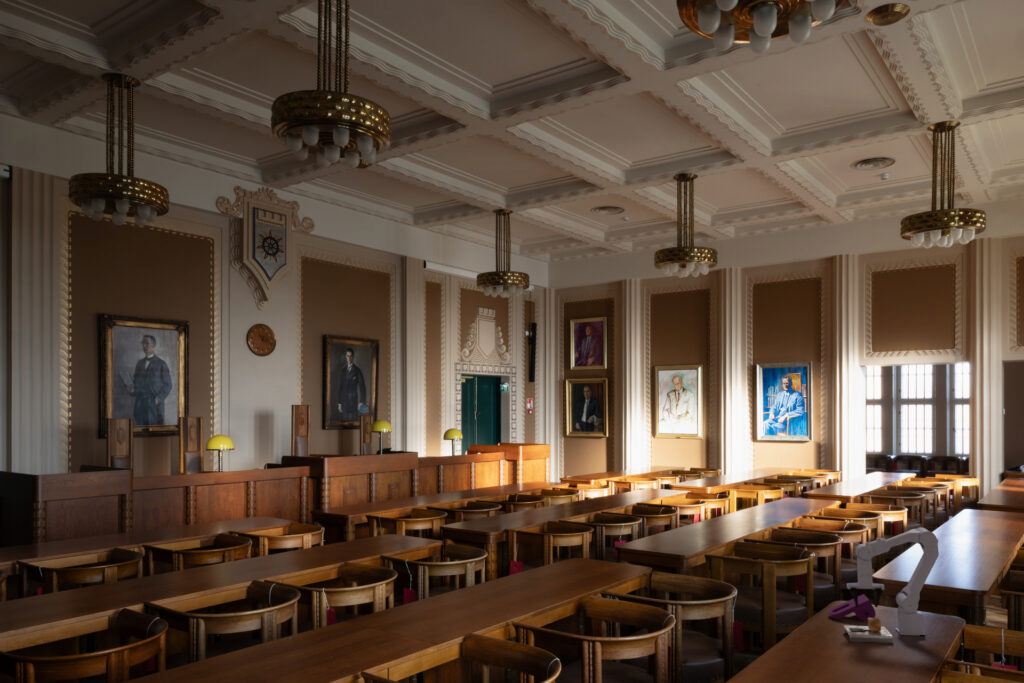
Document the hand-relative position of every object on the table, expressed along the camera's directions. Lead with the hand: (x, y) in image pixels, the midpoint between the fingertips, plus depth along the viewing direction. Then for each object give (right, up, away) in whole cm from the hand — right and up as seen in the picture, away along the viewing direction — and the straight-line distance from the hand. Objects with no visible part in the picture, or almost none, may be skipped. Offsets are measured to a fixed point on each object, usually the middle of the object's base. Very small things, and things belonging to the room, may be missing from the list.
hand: (866, 606), depth 330 cm
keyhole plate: (-3, -10, -9) cm, 14 cm away
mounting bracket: (+1, -12, +18) cm, 22 cm away
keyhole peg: (-1, -10, -9) cm, 14 cm away
